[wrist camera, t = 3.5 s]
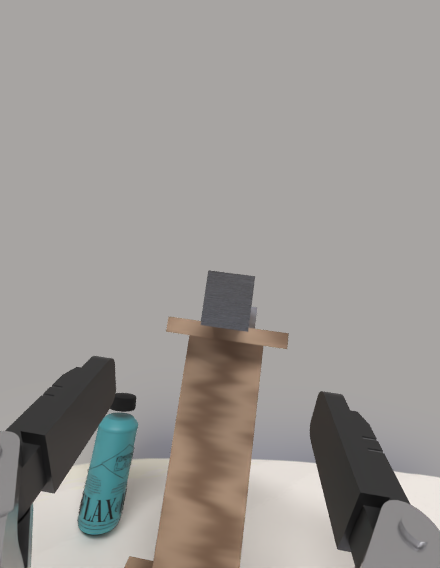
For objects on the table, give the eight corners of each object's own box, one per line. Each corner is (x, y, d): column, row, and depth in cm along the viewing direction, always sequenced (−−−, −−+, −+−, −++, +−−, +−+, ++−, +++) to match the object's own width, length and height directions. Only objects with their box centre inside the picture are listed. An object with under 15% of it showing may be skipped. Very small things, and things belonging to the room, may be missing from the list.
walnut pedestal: (264, 603, 33) (290, 320, 40) (294, 838, 18) (328, 309, 24) (126, 574, 35) (173, 303, 41) (39, 769, 19) (138, 283, 26)
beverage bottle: (63, 539, 39) (94, 394, 42) (93, 511, 45) (118, 387, 49) (102, 554, 37) (131, 402, 41) (128, 523, 43) (151, 394, 47)
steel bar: (240, 325, 34) (244, 298, 35) (248, 331, 17) (254, 276, 17) (217, 321, 35) (221, 295, 35) (200, 325, 17) (208, 270, 17)
